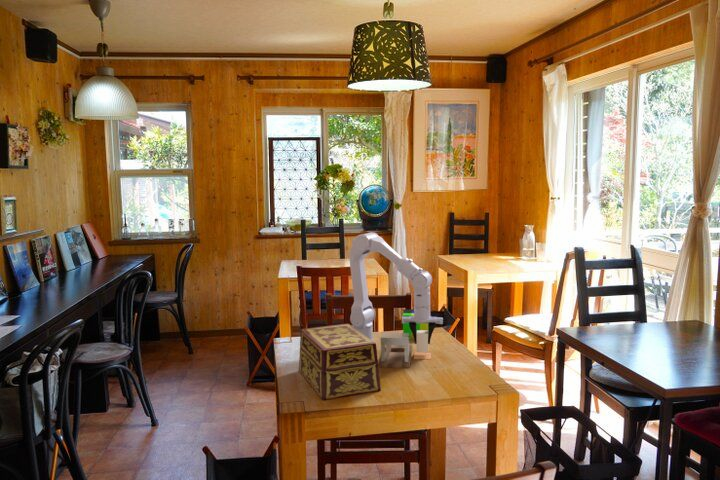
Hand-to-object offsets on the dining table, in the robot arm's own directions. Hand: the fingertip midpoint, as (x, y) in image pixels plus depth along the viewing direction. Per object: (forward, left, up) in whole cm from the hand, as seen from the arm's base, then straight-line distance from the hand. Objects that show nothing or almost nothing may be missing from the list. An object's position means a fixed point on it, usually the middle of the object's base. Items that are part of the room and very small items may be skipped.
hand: (422, 342), depth 199 cm
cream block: (0, 0, -3) cm, 3 cm away
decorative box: (-26, -25, -6) cm, 37 cm away
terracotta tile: (0, 0, -5) cm, 5 cm away
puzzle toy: (-4, +26, -6) cm, 27 cm away
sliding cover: (-9, -9, -3) cm, 13 cm away
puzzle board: (-9, -3, -5) cm, 11 cm away
